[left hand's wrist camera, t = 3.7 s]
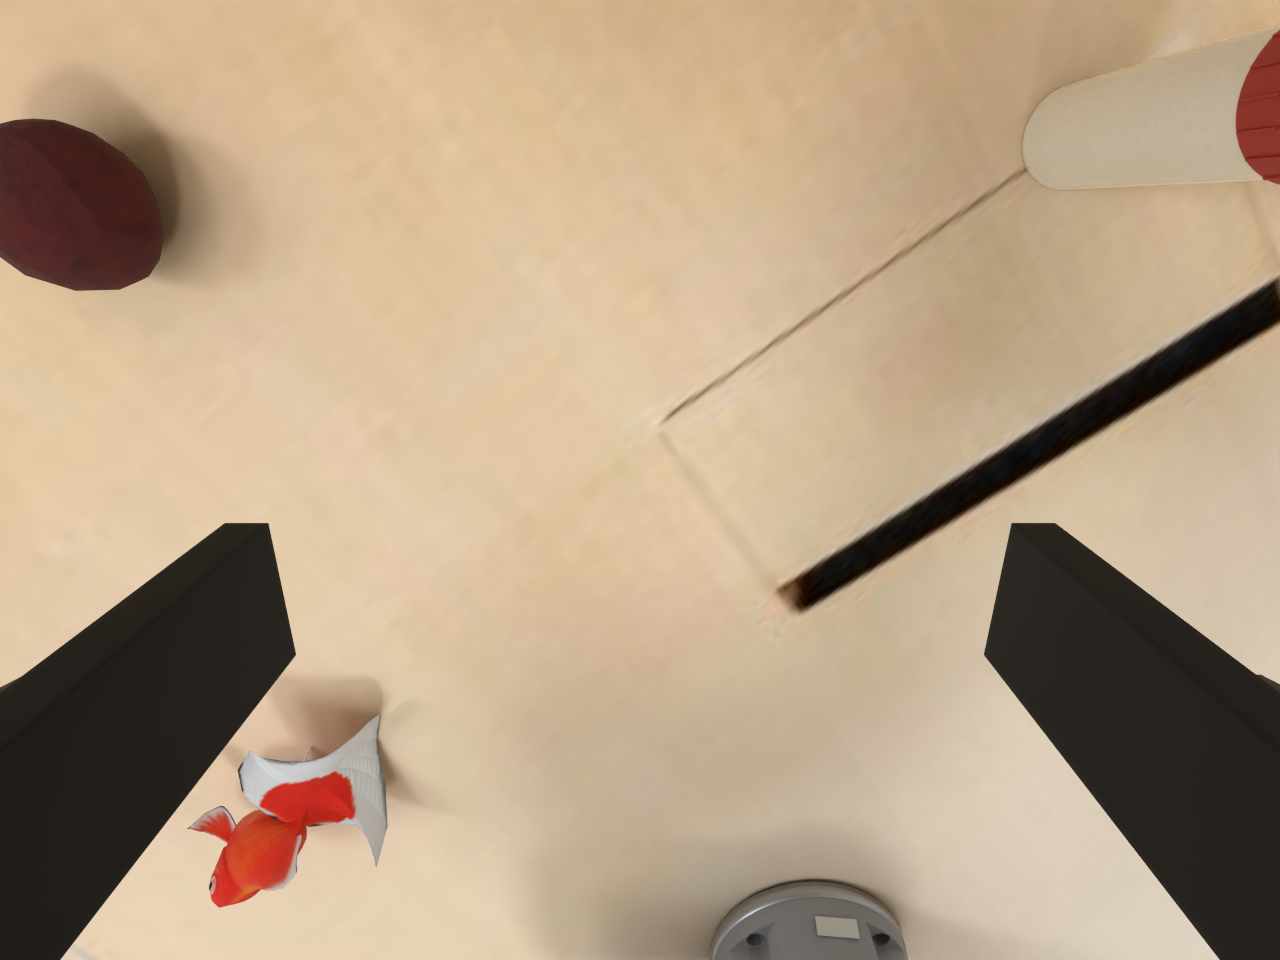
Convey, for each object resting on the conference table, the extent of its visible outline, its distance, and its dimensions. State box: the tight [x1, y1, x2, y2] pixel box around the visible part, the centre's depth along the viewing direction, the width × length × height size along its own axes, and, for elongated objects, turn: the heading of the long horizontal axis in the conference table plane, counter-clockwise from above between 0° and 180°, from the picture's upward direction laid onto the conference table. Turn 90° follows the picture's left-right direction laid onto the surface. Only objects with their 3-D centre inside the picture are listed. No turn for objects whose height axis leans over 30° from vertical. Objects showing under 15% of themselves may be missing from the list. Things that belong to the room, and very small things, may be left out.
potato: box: [0, 119, 164, 291], centre depth 33 cm, size 7×8×7 cm
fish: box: [188, 714, 387, 908], centre depth 46 cm, size 11×16×10 cm
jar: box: [1022, 22, 1280, 190], centre depth 28 cm, size 5×5×16 cm
